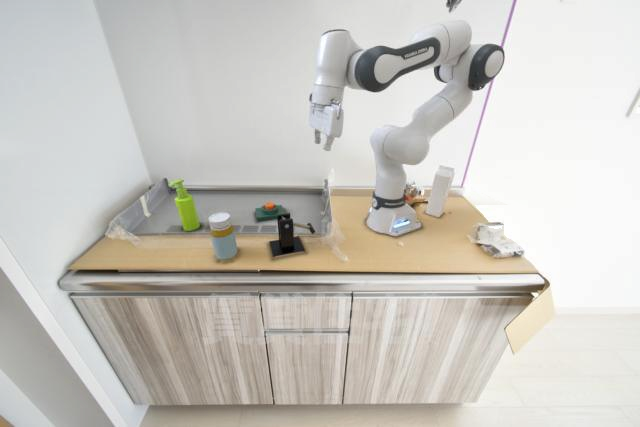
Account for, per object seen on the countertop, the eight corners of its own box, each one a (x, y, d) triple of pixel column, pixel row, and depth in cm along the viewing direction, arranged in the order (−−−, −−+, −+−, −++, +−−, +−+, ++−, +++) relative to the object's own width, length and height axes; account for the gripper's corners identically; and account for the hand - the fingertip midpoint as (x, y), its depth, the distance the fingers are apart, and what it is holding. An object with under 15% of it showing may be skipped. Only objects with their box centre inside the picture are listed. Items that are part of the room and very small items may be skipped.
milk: (438, 217, 107) (452, 170, 96) (424, 213, 110) (436, 166, 100) (443, 213, 111) (457, 166, 100) (429, 208, 114) (441, 163, 104)
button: (273, 205, 107) (273, 202, 106) (275, 209, 104) (274, 205, 103) (264, 206, 106) (264, 203, 105) (265, 210, 103) (265, 207, 102)
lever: (309, 227, 88) (312, 222, 87) (313, 235, 84) (316, 229, 83) (278, 220, 82) (281, 214, 81) (281, 227, 78) (283, 221, 77)
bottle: (231, 263, 78) (223, 224, 71) (212, 260, 79) (202, 221, 72) (241, 250, 84) (235, 213, 77) (223, 248, 85) (215, 210, 78)
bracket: (298, 238, 91) (297, 208, 85) (305, 252, 83) (304, 221, 77) (269, 243, 88) (266, 213, 82) (273, 259, 80) (270, 226, 74)
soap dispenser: (178, 230, 95) (163, 182, 85) (192, 222, 100) (179, 176, 91) (189, 233, 93) (175, 185, 83) (203, 225, 98) (191, 179, 89)
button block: (282, 208, 112) (281, 201, 110) (285, 218, 105) (285, 209, 103) (255, 212, 109) (254, 204, 107) (257, 222, 101) (256, 213, 99)
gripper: (352, 102, 62) (343, 155, 68) (326, 97, 79) (320, 140, 85) (330, 99, 60) (323, 155, 66) (307, 95, 76) (303, 139, 83)
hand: (321, 146), depth 75 cm, fingers open, 8 cm apart
